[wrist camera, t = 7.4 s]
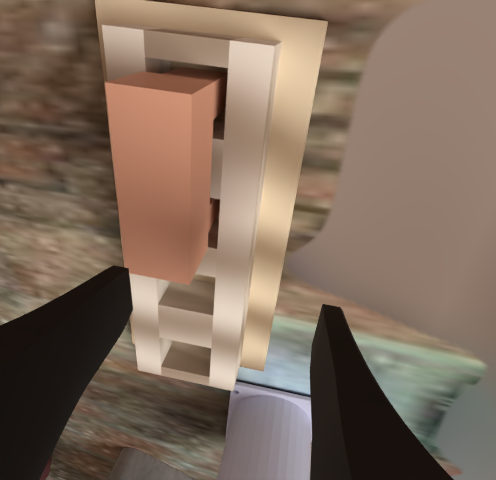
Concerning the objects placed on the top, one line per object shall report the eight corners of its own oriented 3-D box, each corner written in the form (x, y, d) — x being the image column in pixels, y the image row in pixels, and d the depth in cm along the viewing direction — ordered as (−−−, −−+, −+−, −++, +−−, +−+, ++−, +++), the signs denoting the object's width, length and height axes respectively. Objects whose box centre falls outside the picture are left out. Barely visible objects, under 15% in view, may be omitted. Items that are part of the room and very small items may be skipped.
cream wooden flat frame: (265, 361, 30) (257, 405, 26) (138, 334, 31) (115, 373, 27) (327, 21, 17) (328, 21, 13) (105, -5, 18) (54, -10, 14)
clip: (225, 213, 22) (189, 285, 16) (177, 205, 22) (125, 272, 16) (235, 69, 18) (191, 94, 12) (176, 61, 18) (104, 82, 12)
